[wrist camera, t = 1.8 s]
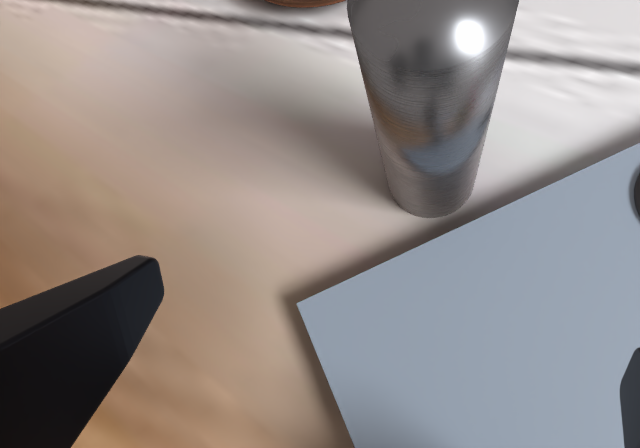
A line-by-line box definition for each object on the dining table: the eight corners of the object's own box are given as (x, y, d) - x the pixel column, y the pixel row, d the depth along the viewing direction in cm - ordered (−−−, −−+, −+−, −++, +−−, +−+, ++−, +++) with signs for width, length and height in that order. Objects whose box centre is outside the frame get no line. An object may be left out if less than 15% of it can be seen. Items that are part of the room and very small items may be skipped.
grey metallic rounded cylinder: (410, 232, 23) (390, 98, 11) (374, 161, 24) (321, -25, 13) (490, 194, 23) (554, 17, 11) (449, 124, 24) (467, -101, 12)
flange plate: (442, 647, 19) (448, 782, 13) (302, 306, 23) (258, 287, 17) (947, 447, 17) (1223, 494, 11) (693, 123, 22) (794, 32, 16)
